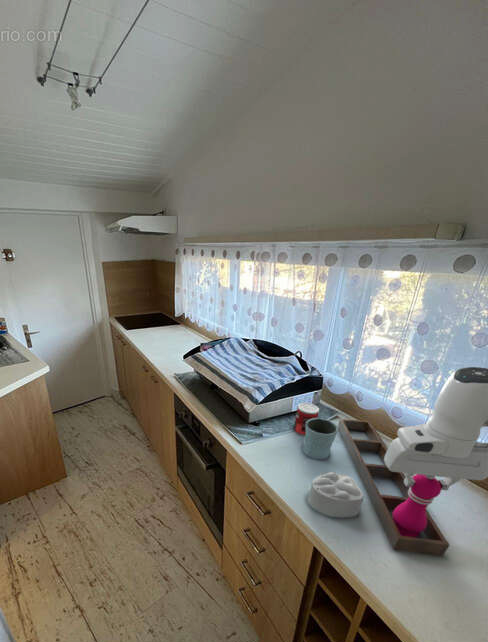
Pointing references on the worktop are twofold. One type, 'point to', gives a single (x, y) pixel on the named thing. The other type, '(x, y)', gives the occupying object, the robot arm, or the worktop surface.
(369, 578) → the worktop surface
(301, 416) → the canned food
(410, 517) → the pepper mill
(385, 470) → the cubby organizer
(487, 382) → the robot arm
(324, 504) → the lumpy-topped squat cylinder
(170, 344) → the worktop surface
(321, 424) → the grey-green cup
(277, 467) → the worktop surface
